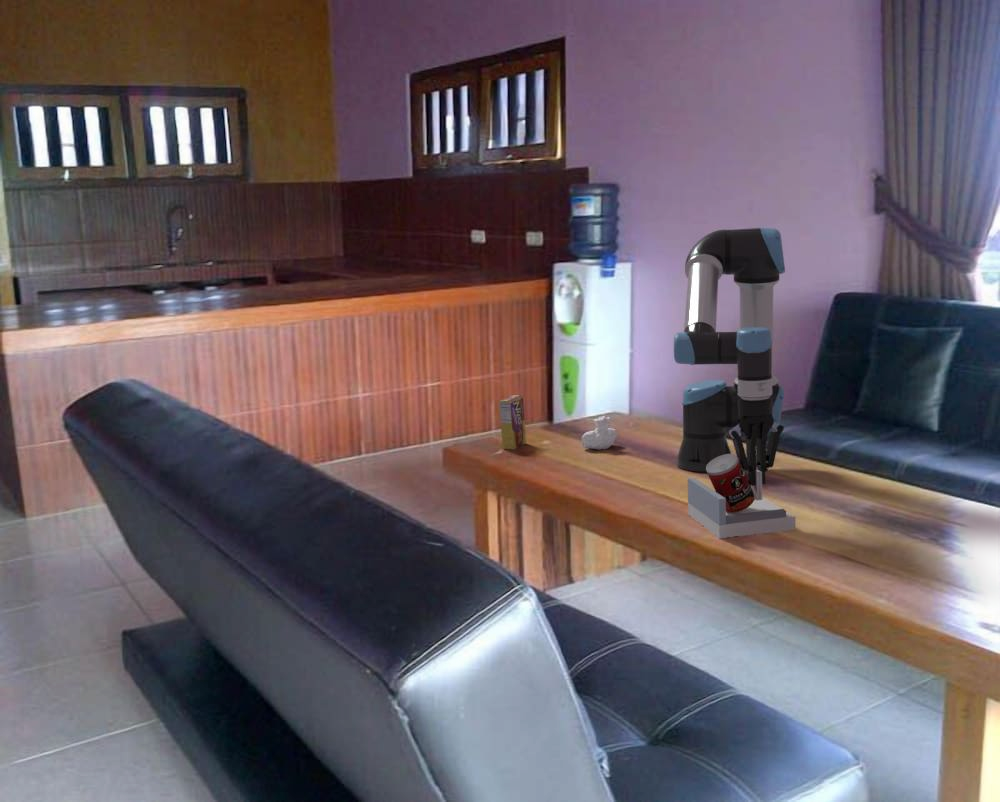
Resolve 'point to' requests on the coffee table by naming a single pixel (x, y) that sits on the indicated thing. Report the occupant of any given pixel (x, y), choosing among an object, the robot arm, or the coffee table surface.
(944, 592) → the coffee table surface
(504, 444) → the candy box
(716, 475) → the canned food
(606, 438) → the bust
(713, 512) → the dock
